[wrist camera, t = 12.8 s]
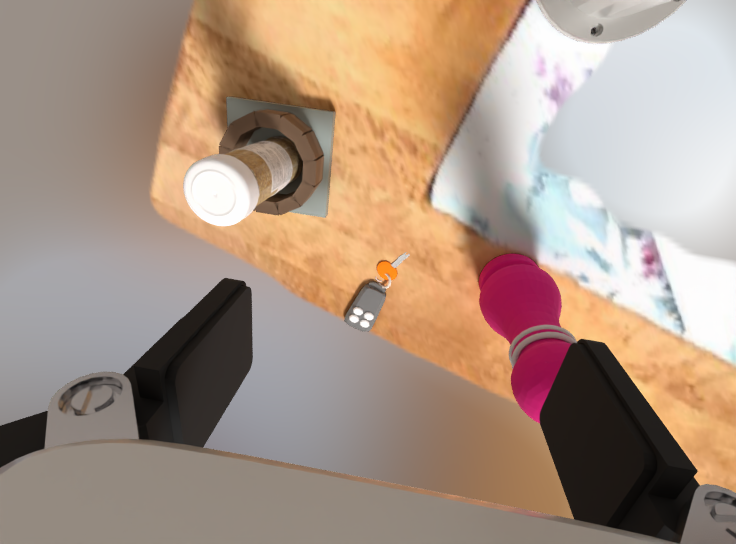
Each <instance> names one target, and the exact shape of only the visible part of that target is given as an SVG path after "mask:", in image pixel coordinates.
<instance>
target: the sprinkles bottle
mask: <svg viewBox="0 0 736 544" xmlns="http://www.w3.org/2000/svg"><path fill="white" fill-rule="evenodd" d="M302 166H303V160H302V158H301V156H300V154H299V152H298V150H297V148H296V145H295V144H294V143H293V142H292V141H291V140H289V139H287V138H285V137H281V136H278V137H277V136H275V137H270V138H268V139H266V140H265V141H260V142H257V143H254V144H251V145H248V146H245V147H242V148H239V149H236V150H233V151H231V152H229V153H226V154H215V155H211V156H208V157H206V158H203V159H201V160H199V161H197V162H195V163H194V164H192V165H191V166H190V168H189V169H188V170H187V172H186V175H185V177H184V183H183V188H184V194H185V197H186V200H187V202H188V204H189V206H190V207H191V209H192V210H193V211H194V213H195V214H196V215H198V216H199V217H200V218H201V219H203V220H204V221H206V222H208V223H210V224H213V225H217V226H229V225H233V224H236V223H238V222H239V221H241V220H242V219H244V218H245V217H247V216H248V215H249V214H250V213H251V212H252V211H253V210H254V209H255V207H256V206H258V205H259V204H260V203H262V202H263V201H265V200H266V199H267V198H269V197H271V196H273V195H274V194H276V193H277V192H278V191H280V190H281V189H283V188H284V187H285V186H286V185H287V184H288V183H291V182H293V181H294V180H296V178H297V177H298V176H299V174H300V173H301V170H302Z"/></svg>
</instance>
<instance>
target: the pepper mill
mask: <svg viewBox="0 0 736 544" xmlns="http://www.w3.org/2000/svg"><path fill="white" fill-rule="evenodd" d="M479 287H480V291H481V293H480V299H479V302H480V308H481V311H482V314H483V316H484V318H485V320H486V321H487V323H488V324H489V325H490V327H491V328H492V329H493V330H494V331H496V332H497V333H498V334H500V335H501V336H503V337H504V338H506V339H507V340H508V341H509V343H510V345H511V346H510V349H509V359H510V362H511V364H512V368H513V371H512V374H511V386H512V390H513V394H514V396H515V399H516V401H517V402H518V404H519V406H520V407H521V409H522V410H523V411H524V412H525V413H526V414H527V415H528V416H529V417H530V418H532V419H533V420H534V421H536V422H538V423H540V419H539V417H540V411H541V409H542V406H543V404H544V402H545V400H546V398H547V395H548V393H549V391H550V389H551V387H552V384H553V382H554V380H555V378H556V375H557V373H558V371H559V369H560V367H561V364H562V362H563V360H564V358H565V356H566V353H567V351H568V349H569V347H570V345H571V344H572V343H577V341H576V339H575V338H574V336H573V335H572V334H571V333H570V332H568V331H567V330H565V329H563V328H561V326H560V323H559V317H560V313H561V307H562V305H561V295H560V292H559V289H558V287H557V285H556V283H555V282H554V280H553V279H552V277H551V276H550V275H549V274H548V273H546V272H545V271H543V270H542V269H540V268H539V267H538V266H537V264H536V263H535V262H534V261H533V260H531V259H530V258H528V257H527V256H524V255H521V254H504V255H501V256H498V257H496V258H494V259H493V260H491V261H490V262H489V263H488V264H487V265H486V266H485V267H484V268H483V270H482V272H481V274H480V278H479Z"/></svg>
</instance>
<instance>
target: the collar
mask: <svg viewBox="0 0 736 544" xmlns="http://www.w3.org/2000/svg"><path fill="white" fill-rule="evenodd" d="M226 101H227V126H228V129H227V131H226V133H225V135H224V136H223V138H222V140H221V142H220V144H219V145H221V146H219V154H226V153H229V152H231V151H233V150H236V149H239V148H242V147H245V146H248V145H251V144H254V143H257V142H260V141H265V140H266V139H268V138H270V137H275V136H277V137H278V136H281V137H285V138H287V139H289V140H291V141H292V142H293V143H294V144H295V145H296V148H297V150H298V152H299V154H300V156H301V158H302V160H303V166H302V170H301V173H300V174H299V176H298V177H297V178H296V180H294V181H293V182H291V183H288V184H287V185H286V186H285V187H284V188H283V189H281V190H280V191H278V192H277V193H276V194H274V195H273V196H271V197H269V198H267V199H266V200H265V201H263V202H262V203H260V204H259V205H258V206H256V207H255V209H254V210H253V211H255V210H256V212H260V213H267V214H273V215H279V214H280V215H282V214H284V213H287V212H293V213H299V214H306V215H312V216H318V217H324V218H325V217H326V216H327V214H328V201H329V188H330V176H331V163H332V150H333V137H334V125H335V111H328V110H321V109H314V108H307V107H300V106H293V105H286V104H279V103H272V102H265V101H258V100H251V99H244V98H237V97H226Z"/></svg>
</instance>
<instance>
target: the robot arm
mask: <svg viewBox="0 0 736 544" xmlns="http://www.w3.org/2000/svg"><path fill="white" fill-rule="evenodd" d="M536 1H537V3H538V5H539V7H540V9H541V12H542V14H543V15H544V16H545V18H546V19H547V20H548V21H549V23H550V24H551V25H552V26H553V27H554V28H556V29H557V30H558V31H559V32H561V33H562V34H563V35H565V36H567V37H569V38H572V39H574V40H576V41H580V42H585V43H591V44H603V43H612V42H617V41H622V40H625V39H628V38H631V37H634V36H637V35H640V34H642V33H644V32H645V31H647V30H649V29H651V28H653V27H655V26H657V25H658V24H659V23H661V22H662V21H664V20H665V19H666V18H668V17H669V16H670V15H671V14H673V13H674V12H675V11H676V10H677V9H678V8H679V7H680V6H681V5H683V4H684V3H685V2H686V1H687V0H536ZM592 28H595V30H596V32H595V34H594V35H592V34H591V29H592ZM251 296H252V294H251V288H250V287H247V286H246V283H245V282H244V281H240V280H234V279H228V278H224V279H223V280H221V281H220V282H219V283H218V284H217V285H216V286H215V287H214V288H213V289H212V290H211V291H210V292H209V293H208V294H207V295H206V296H205V297H204V298H203V299H202V300H201V301H200V302H199V303H198V304H197V305H196V306H195V307H194V308H193V309H192V310H191V311H190V312H189V313H188V314H187V315H186V316H184V317H183V318H182V319H180V320H179V321H178V322H177V323H176V324H175V325H174V326H173V327H172V328H171V329H170V330H169V331H168V332H167V333H166V334H165V335H164V336H163V337H162V338H160V340H158V341H157V342H156V343H155V344H154V345H153V346H152V347H151V348H150V349H149V350H148V351H147V352H146V353H145V354H144V355H143V356H142V357H141V358H140V359H139V360H138V361H137V362H136V363H135V364H134V365H133V366H132V367H131V368H129V369H128V370H127V371H126V372H125V373H124V374H119V373H116V372H98V373H92V374H89V375H86V376H82V377H79V378H77V379H75V380H73V381H71V382H70V383H67V384H66V385H65V386H64V387H62V388H61V389H59V390H58V391H57V392H56V393H55V395H54V396H53V397H52V398H51V401H50V403H49V406H48V411H45V412H42V413H39V414H36V415H33V416H30V417H26V418H23V419H20V420H17V421H14V422H11V423H8V424H5V425H2V426H0V544H736V493H735V492H733V491H731V490H729V489H726V488H723V487H720V486H717V485H709V484H705V485H701V486H700V485H699V484H698V482H697V481H696V480H695V478H694V475H695V474H696V473H697V472H698V471H697V469H696V468H695V467H694V465H693V464H692V463H691V461H690V460H689V458H688V457H687V456H686V454H685V453H684V451H683V450H682V449H681V447H680V446H679V445H678V443H677V442H676V440H675V439H674V438H673V436H672V435H671V434H670V432H669V431H668V429H667V428H666V427H665V425H664V424H663V423H662V421H661V420H660V418H659V417H658V416H657V414H656V413H655V412H654V410H653V409H652V407H651V406H650V405H649V403H648V402H647V401H646V399H645V398H644V396H643V395H642V394H641V392H640V391H639V390H638V388H637V387H636V385H635V384H634V383H633V381H632V380H631V378H630V377H629V376H628V374H627V373H626V372H625V370H624V369H623V367H622V366H621V365H620V363H619V362H618V361H617V359H616V358H615V356H614V355H613V354H612V352H611V351H610V350H609V348H608V347H607V345H606V344H605V343H602V342H597V341H591V340H585V339H580V340H579V341H578V342H577V343H572V344H571V345H570V347H569V349H568V351H567V353H566V356H565V358H564V360H563V362H562V364H561V367H560V369H559V371H558V373H557V375H556V378H555V380H554V382H553V384H552V387H551V389H550V391H549V393H548V395H547V398H546V400H545V402H544V404H543V406H542V409H541V411H540V417H539V419H540V425H541V428H542V430H543V433H544V436H545V439H546V442H547V444H548V447H549V450H550V453H551V456H552V458H553V461H554V464H555V467H556V469H557V472H558V475H559V478H560V480H561V483H562V486H563V489H564V492H565V495H566V497H567V500H568V503H569V506H570V509H571V511H572V514H573V517H574V519H569V518H563V517H559V516H554V515H549V514H544V513H539V512H534V511H529V510H525V509H520V508H515V507H510V506H505V505H500V504H495V503H490V502H485V501H480V500H475V499H470V498H465V497H460V496H455V495H450V494H445V493H440V492H434V491H430V490H425V489H419V488H415V487H410V486H404V485H399V484H394V483H389V482H384V481H378V480H374V479H369V478H363V477H358V476H353V475H348V474H343V473H338V472H333V471H327V470H322V469H317V468H311V467H306V466H301V465H295V464H290V463H285V462H280V461H275V460H269V459H264V458H259V457H254V456H248V455H243V454H237V453H231V452H225V451H220V450H214V449H208V448H203V447H204V445H205V443H206V441H207V440H208V438H209V436H210V435H211V433H212V432H213V430H214V428H215V427H216V425H217V423H218V422H219V420H220V418H221V417H222V415H223V413H224V412H225V410H226V408H227V407H228V405H229V403H230V402H231V400H232V398H233V397H234V395H235V393H236V392H237V390H238V389H239V387H240V385H241V384H242V382H243V380H244V378H245V377H246V375H247V373H248V372H249V370H250V368H251V364H252V358H253V355H252V354H253V352H252V298H251Z"/></svg>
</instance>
